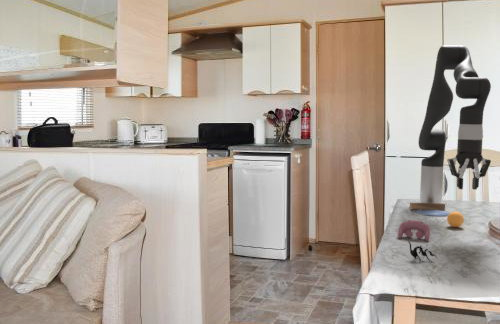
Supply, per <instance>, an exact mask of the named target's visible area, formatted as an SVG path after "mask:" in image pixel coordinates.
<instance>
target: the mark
mask: <svg viewBox="0 0 500 324" xmlns="http://www.w3.org/2000/svg"><path fill="white" fill-rule="evenodd" d="M415 212H416V213H417V214H419V215H422V216H423V215H424V216H429V217H448V215H449V214H450V213H451V212H449V211H445V210H431V209H423V210H419V209H416V211H415Z"/></svg>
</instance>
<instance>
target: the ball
mask: <svg viewBox="0 0 500 324" xmlns="http://www.w3.org/2000/svg"><path fill="white" fill-rule="evenodd" d="M449 213H450V214H449V215H448V216H446V221H447V223H448V225H449V226H450V227H453V228H459V227H461V226H463V223H464V222H465V218H464V216H463V214H462V213H460V212H459V211H452V212H449Z"/></svg>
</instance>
